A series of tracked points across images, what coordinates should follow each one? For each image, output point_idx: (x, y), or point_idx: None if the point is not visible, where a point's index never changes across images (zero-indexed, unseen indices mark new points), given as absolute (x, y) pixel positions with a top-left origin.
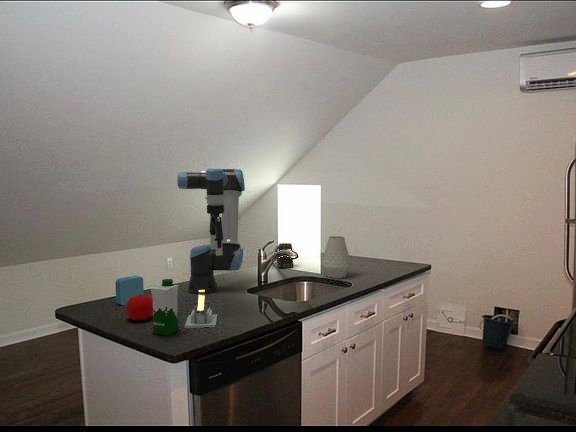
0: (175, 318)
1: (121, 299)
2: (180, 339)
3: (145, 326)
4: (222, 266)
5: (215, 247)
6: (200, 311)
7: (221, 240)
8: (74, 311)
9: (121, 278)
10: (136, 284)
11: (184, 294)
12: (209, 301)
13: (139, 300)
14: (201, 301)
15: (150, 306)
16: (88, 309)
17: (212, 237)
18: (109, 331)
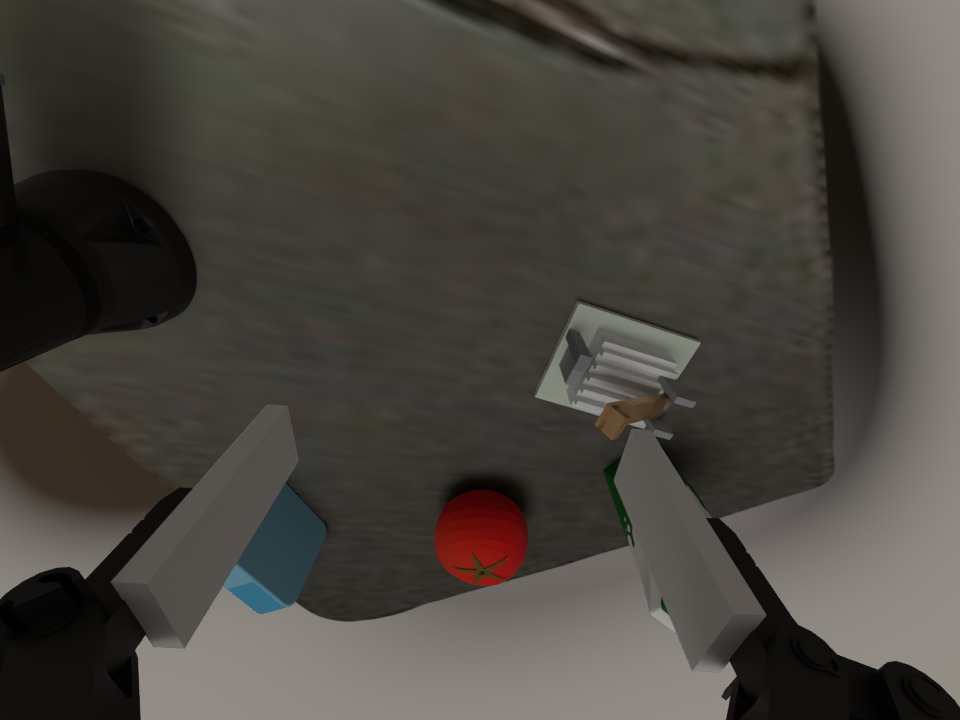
0: (688, 485)
1: (320, 545)
2: (730, 450)
3: (560, 502)
4: (2, 157)
5: (279, 433)
6: (668, 407)
7: (758, 617)
8: (354, 603)
9: (256, 606)
10: (262, 547)
11: (197, 343)
12: (588, 358)
13: (513, 568)
14: (640, 411)
15: (520, 525)
16: (343, 583)
17: (201, 587)
18: (556, 563)
